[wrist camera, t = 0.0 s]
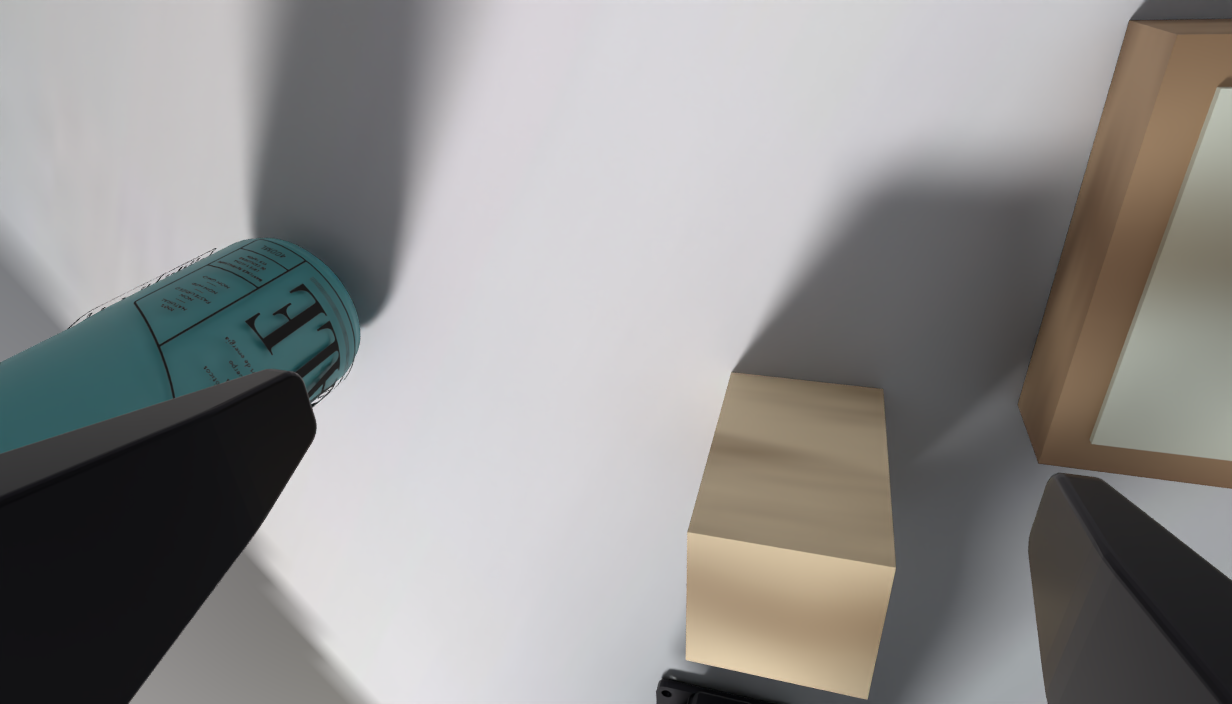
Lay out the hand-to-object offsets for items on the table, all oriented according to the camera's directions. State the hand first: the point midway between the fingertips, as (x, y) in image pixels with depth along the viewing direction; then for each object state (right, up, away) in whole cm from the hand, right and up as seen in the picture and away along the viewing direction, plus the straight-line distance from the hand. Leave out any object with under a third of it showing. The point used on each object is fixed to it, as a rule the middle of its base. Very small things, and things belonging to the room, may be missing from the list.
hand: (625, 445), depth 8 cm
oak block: (+6, -2, +17) cm, 18 cm away
